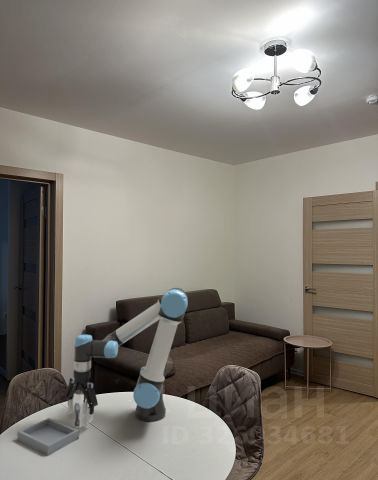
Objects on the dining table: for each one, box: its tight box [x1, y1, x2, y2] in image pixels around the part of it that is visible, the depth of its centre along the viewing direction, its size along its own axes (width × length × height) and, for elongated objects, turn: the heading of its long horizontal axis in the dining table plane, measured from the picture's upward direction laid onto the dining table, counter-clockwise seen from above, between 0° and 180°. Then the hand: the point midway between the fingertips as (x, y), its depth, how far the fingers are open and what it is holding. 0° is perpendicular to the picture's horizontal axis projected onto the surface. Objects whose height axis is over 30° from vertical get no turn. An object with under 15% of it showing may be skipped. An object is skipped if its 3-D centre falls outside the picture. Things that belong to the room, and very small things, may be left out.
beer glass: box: [72, 389, 89, 429], centre depth 159 cm, size 7×7×15 cm
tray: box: [16, 417, 80, 456], centre depth 145 cm, size 20×15×4 cm
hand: (80, 417), depth 158 cm, fingers open, 12 cm apart
